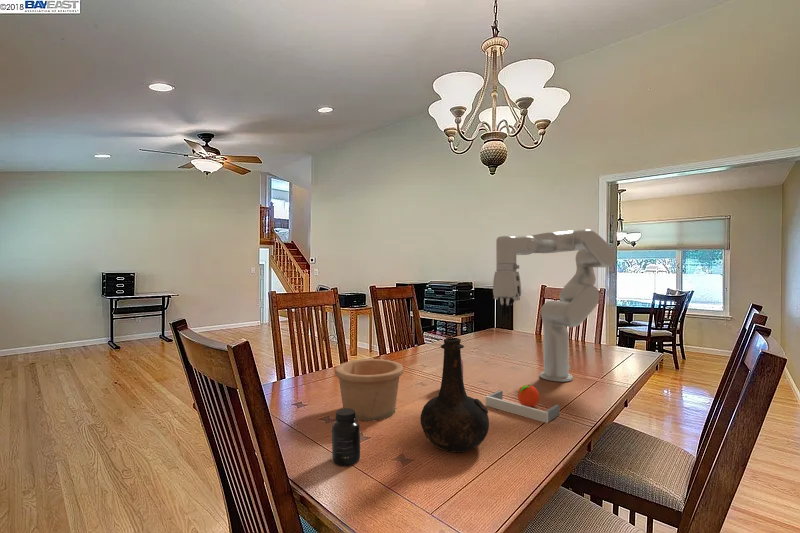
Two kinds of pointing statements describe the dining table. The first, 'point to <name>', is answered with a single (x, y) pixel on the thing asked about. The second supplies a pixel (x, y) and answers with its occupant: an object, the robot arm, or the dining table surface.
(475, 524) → the dining table surface
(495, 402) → the grey u-shaped bracket
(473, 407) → the glass bottle
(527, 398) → the clementine
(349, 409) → the supplement bottle
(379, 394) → the pottery
